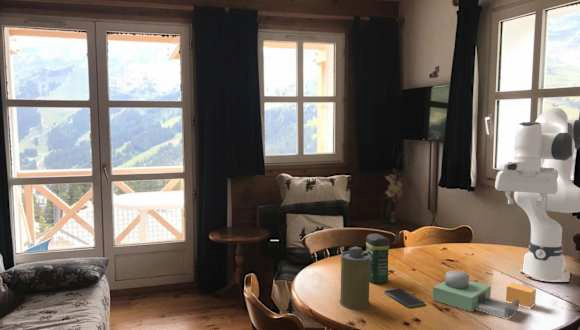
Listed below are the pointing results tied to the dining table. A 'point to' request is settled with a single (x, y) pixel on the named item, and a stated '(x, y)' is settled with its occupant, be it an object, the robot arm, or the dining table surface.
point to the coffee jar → (378, 257)
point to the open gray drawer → (498, 307)
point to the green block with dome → (460, 291)
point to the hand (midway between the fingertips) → (524, 205)
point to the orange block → (521, 294)
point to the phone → (404, 298)
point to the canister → (355, 278)
